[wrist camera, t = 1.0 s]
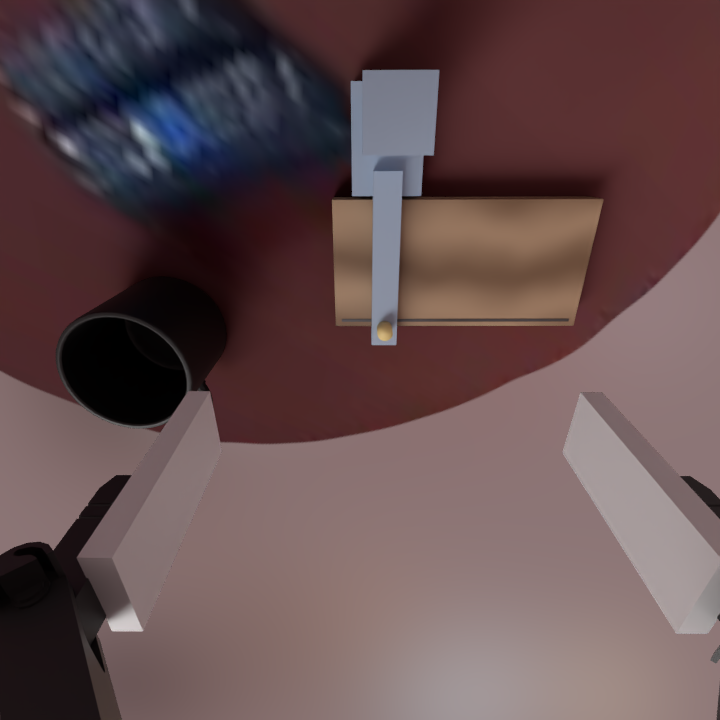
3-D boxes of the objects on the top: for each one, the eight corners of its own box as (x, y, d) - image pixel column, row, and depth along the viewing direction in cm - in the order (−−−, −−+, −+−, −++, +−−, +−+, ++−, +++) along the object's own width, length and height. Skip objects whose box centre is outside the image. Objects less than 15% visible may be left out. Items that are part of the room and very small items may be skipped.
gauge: (351, 86, 30) (345, 50, 19) (422, 85, 29) (457, 49, 19) (354, 327, 38) (351, 398, 27) (410, 327, 38) (428, 398, 27)
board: (333, 197, 33) (332, 200, 31) (590, 196, 33) (603, 199, 31) (337, 317, 37) (335, 326, 35) (563, 317, 37) (573, 325, 35)
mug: (186, 407, 42) (144, 470, 34) (98, 307, 37) (24, 351, 29) (264, 366, 40) (239, 422, 31) (181, 254, 35) (126, 286, 27)
